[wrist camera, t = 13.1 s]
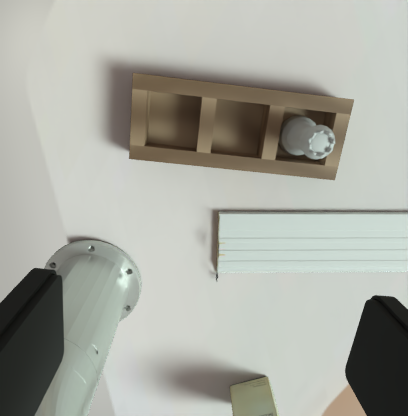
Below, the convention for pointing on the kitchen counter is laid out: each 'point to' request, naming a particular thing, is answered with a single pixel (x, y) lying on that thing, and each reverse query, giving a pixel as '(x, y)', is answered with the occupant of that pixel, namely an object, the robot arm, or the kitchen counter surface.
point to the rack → (229, 126)
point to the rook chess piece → (306, 138)
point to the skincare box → (253, 398)
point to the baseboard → (312, 242)
